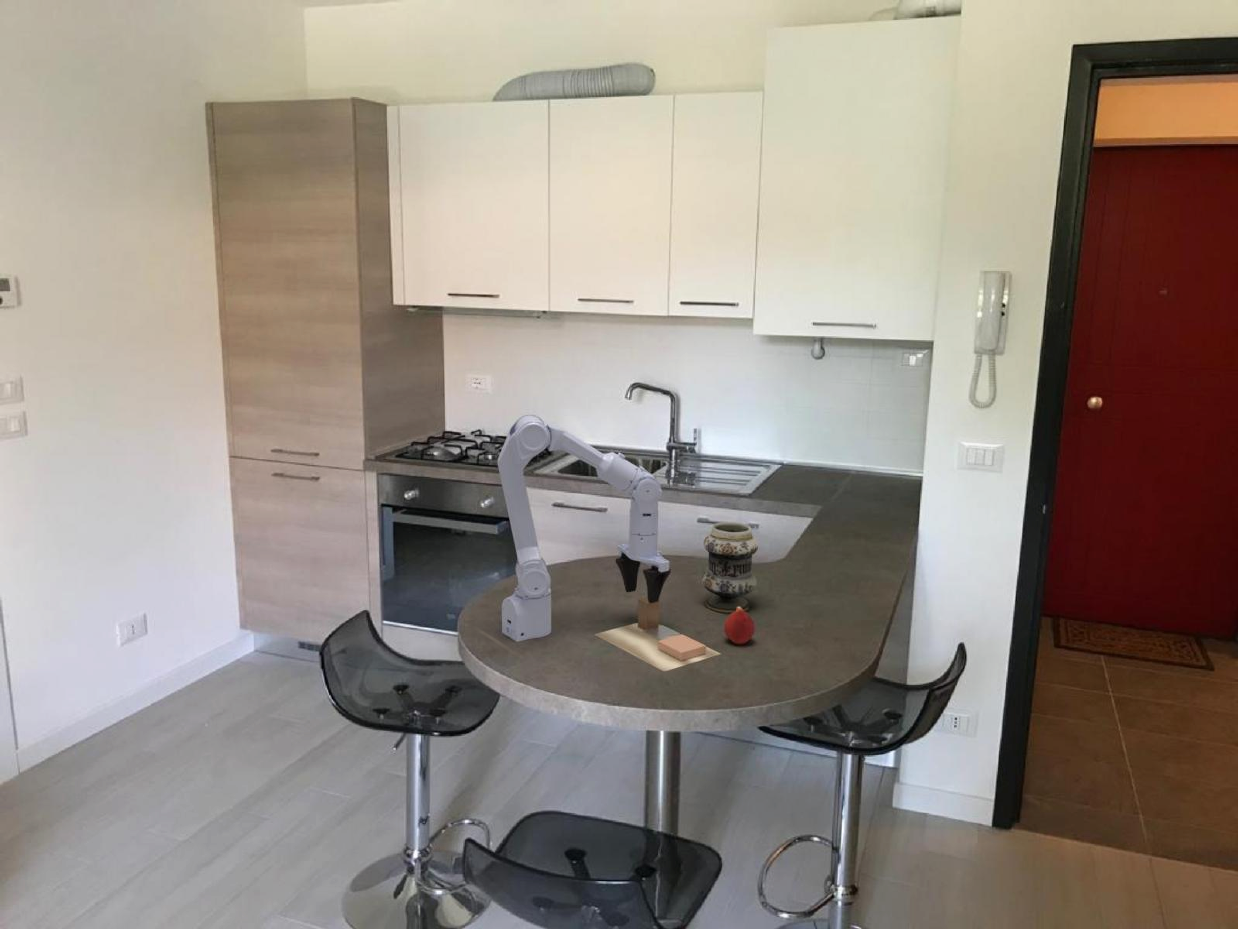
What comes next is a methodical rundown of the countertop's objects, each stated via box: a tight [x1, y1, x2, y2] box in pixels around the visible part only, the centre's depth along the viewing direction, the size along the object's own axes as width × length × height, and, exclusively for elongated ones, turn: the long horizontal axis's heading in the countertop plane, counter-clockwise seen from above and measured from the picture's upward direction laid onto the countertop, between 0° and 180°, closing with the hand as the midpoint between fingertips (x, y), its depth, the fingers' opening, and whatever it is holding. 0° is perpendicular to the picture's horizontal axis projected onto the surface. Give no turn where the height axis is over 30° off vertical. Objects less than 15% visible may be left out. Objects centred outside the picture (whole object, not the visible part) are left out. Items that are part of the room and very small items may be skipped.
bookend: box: [637, 596, 681, 641], centre depth 188 cm, size 5×8×6 cm, turn 37°
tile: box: [658, 633, 707, 661], centre depth 178 cm, size 6×2×7 cm
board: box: [593, 622, 722, 673], centre depth 182 cm, size 14×22×1 cm, turn 37°
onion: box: [723, 607, 756, 645], centre depth 183 cm, size 6×6×8 cm
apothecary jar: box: [701, 521, 759, 614], centre depth 205 cm, size 12×12×18 cm
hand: (641, 596), depth 191 cm, fingers open, 7 cm apart
